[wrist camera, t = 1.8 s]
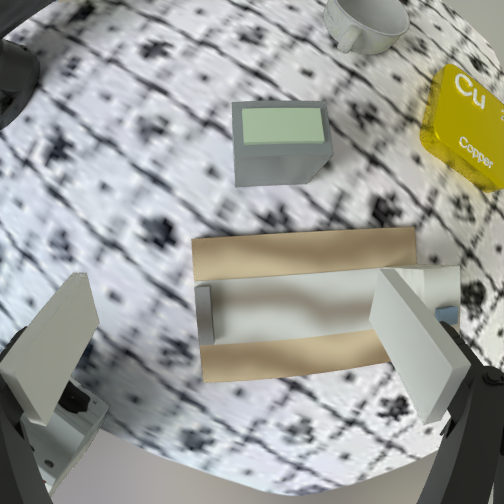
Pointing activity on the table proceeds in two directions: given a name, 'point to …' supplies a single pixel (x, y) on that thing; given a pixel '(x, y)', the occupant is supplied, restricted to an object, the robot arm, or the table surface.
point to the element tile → (465, 128)
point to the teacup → (365, 24)
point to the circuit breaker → (65, 433)
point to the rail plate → (304, 299)
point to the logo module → (279, 141)
